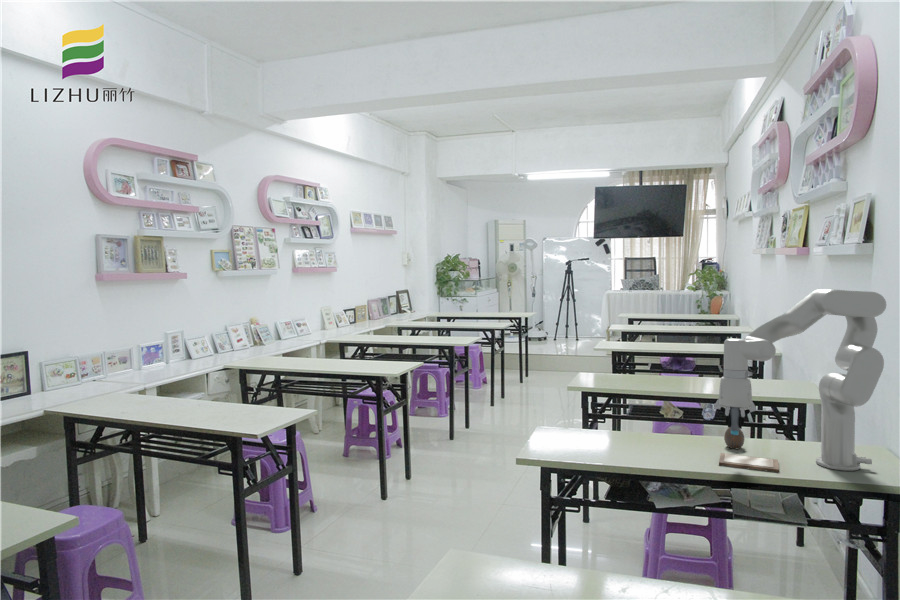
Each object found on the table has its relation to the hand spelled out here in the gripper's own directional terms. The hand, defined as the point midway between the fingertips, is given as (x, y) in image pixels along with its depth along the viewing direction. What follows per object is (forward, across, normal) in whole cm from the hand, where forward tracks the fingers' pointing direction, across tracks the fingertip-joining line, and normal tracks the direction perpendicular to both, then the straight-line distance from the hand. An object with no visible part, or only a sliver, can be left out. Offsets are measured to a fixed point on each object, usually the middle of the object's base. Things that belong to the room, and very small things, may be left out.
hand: (734, 426), depth 200 cm
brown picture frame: (+13, -4, -2) cm, 14 cm away
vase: (+13, +1, -22) cm, 26 cm away
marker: (+3, 0, 0) cm, 3 cm away
